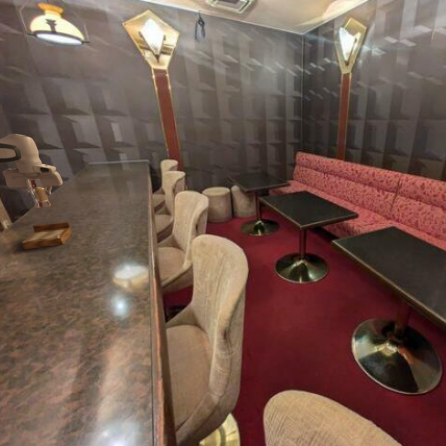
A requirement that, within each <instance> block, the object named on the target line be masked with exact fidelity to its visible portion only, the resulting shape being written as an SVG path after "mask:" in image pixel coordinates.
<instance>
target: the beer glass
mask: <svg viewBox="0 0 446 446" xmlns="http://www.w3.org/2000/svg"><path fill="white" fill-rule="evenodd" d="M25 180H26V185H27V190H28V191H29V193H30V194H31V198H32V200H33V202H34V208H35V209H43V208H49V207H51V206H52V204H51V202H50V200H49V195H47V194H46V191H48V188H47V186H43V185H42V182H41V180H40V179H25Z"/></svg>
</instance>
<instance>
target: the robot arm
mask: <svg viewBox="0 0 446 446" xmlns="http://www.w3.org/2000/svg"><path fill="white" fill-rule="evenodd" d="M39 155H40V152H39V150H38V147H37V144H36V142H35V140H34V139H33V138H32V137H30V136H28V135H23V134H18V133H9V134H8V135H6V136H4V137H2V138H0V164H6V163H11V162H15V165H16V167H17V168H5V169H2V175H3V177H4V178H5V184H6V186H7V187H8V188H9V189H16V188H17V189H18V188H21V191H23V192H24V193H26V196H27V197H30V196H31V194H30V193H29V191H28V189H27V185H26V180H25V179H40V180H41V182H42V185H43V186H46V187H47V191H46V194H47V195H48V196H50V195H52V189H53V187H61V186H62V185H63V183H64V182H63V178H62V176H61V175H60V173H59V172H58V171H57V167H56V166H54V165H50V164H45V163H43V162H42V160H41V159H40V156H39ZM31 197H32V196H31Z"/></svg>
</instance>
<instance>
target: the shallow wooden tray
mask: <svg viewBox="0 0 446 446" xmlns="http://www.w3.org/2000/svg"><path fill="white" fill-rule="evenodd" d="M32 229H33V232H32V233H31V234H30V235H29V236H28V237H26V238H25V239H24V240H23V241H22V242H21V245H22V247H23V250H31V249H37V248H45V247H54V246H60V245H64V244H65V243H66V242H67V240H68V238H69V237H70V236H71V234H72V233H73V232H72V229H71V224H70V222H69V221H62V222H54V223H42V224H35V225H32Z"/></svg>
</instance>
